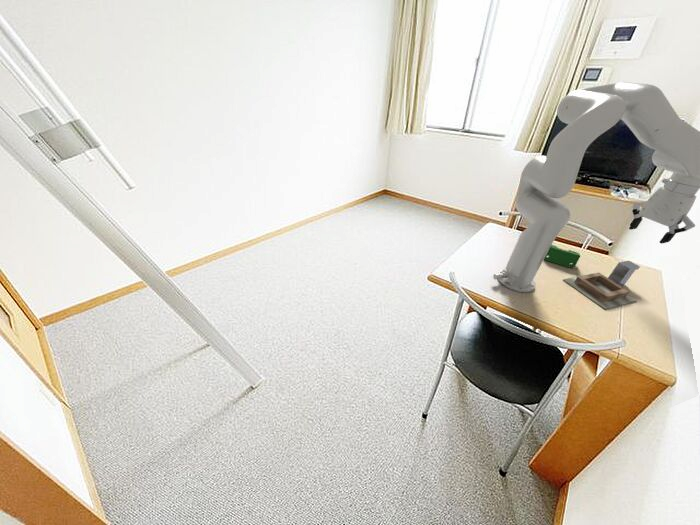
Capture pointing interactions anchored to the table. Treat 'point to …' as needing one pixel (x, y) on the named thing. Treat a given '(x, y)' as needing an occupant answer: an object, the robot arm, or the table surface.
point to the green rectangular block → (562, 256)
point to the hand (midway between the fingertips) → (647, 235)
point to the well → (601, 290)
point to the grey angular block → (623, 272)
